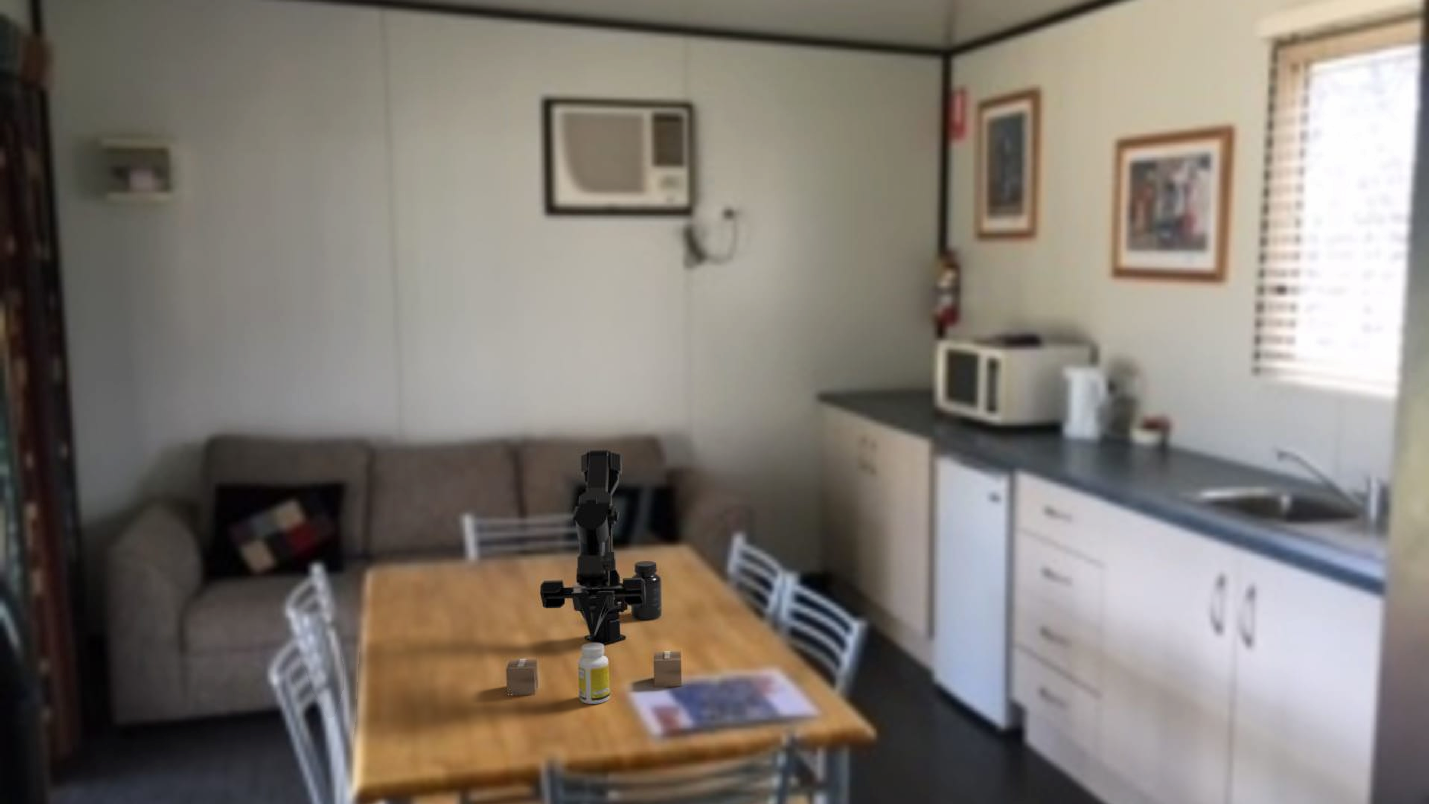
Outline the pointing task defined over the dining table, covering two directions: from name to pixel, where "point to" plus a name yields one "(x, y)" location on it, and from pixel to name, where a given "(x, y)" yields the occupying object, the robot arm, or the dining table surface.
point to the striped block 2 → (667, 669)
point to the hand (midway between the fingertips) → (592, 635)
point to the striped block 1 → (522, 677)
